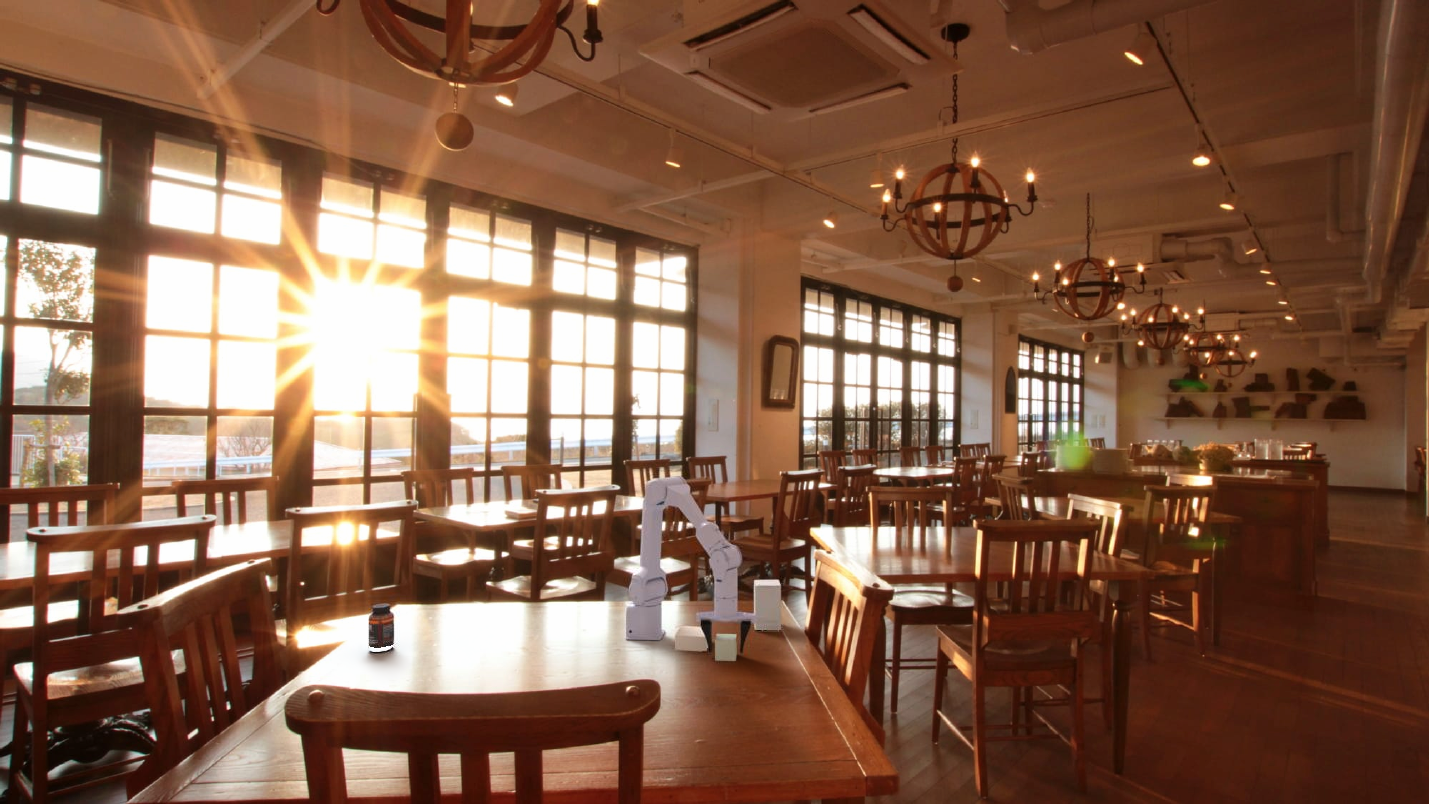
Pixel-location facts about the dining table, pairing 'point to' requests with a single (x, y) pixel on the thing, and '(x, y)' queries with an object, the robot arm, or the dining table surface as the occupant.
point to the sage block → (725, 647)
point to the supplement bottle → (381, 626)
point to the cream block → (690, 639)
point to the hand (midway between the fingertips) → (726, 651)
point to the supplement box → (767, 604)
